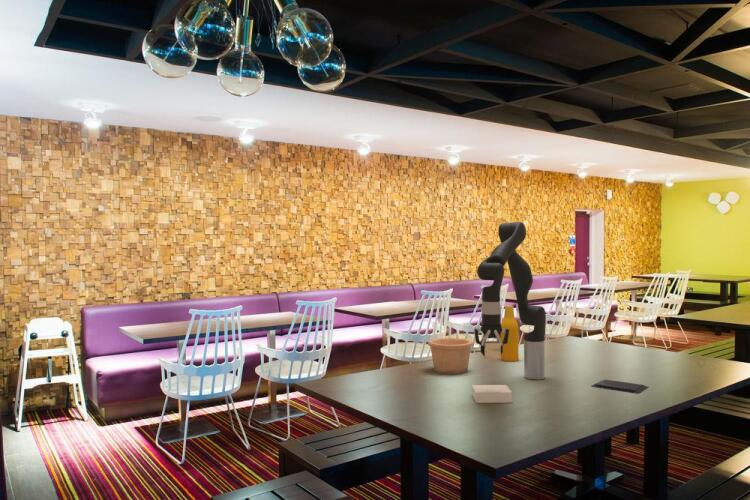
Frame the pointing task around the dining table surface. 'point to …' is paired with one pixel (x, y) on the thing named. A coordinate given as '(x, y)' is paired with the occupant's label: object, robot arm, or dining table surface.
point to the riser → (491, 394)
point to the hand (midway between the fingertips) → (491, 354)
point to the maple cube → (492, 349)
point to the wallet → (620, 386)
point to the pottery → (450, 355)
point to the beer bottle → (510, 336)
